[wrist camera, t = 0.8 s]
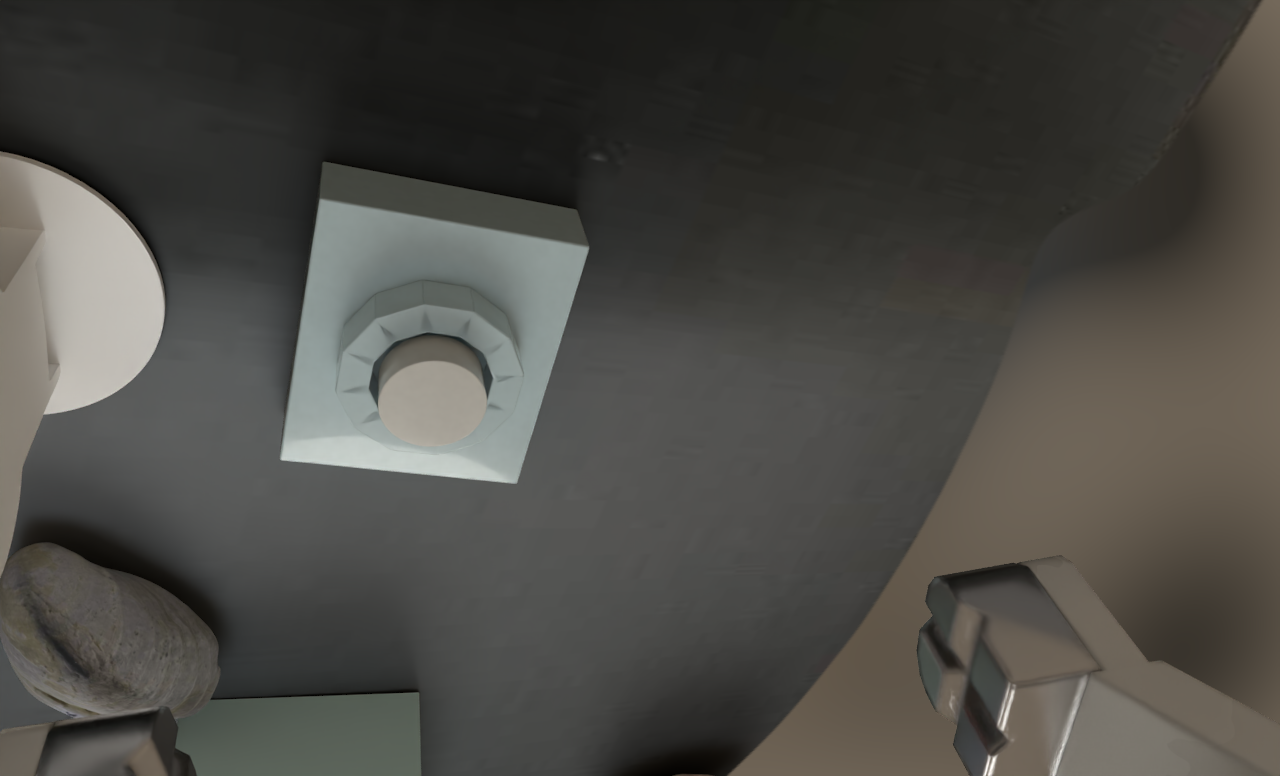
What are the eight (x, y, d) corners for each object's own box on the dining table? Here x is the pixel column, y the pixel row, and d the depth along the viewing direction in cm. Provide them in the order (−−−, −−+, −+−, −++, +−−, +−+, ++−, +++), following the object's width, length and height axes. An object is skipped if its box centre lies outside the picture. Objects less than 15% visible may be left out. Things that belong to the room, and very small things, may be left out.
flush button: (387, 327, 40) (387, 353, 38) (493, 342, 41) (497, 368, 40) (369, 413, 42) (369, 441, 40) (471, 424, 43) (475, 452, 42)
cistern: (322, 160, 40) (317, 221, 36) (577, 208, 44) (598, 270, 40) (283, 413, 46) (276, 489, 43) (509, 439, 50) (521, 512, 46)
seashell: (-68, 567, 47) (-108, 656, 43) (98, 492, 47) (73, 575, 43) (110, 709, 55) (90, 796, 51) (256, 646, 54) (247, 729, 50)
